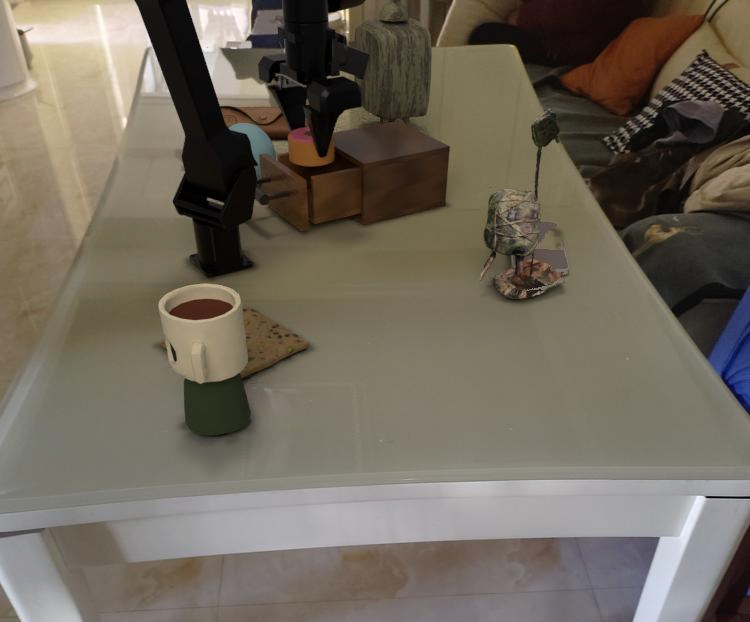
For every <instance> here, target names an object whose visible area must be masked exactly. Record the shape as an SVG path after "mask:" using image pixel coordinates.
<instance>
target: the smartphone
mask: <svg viewBox="0 0 750 622" xmlns="http://www.w3.org/2000/svg"><path fill="white" fill-rule="evenodd" d="M557 225H558V226H559V224H558V223H557V222H555V221H551V220H550V221H549V220H540V226H539V229H540V231H539V233H538V240H537V243H538V244H539V242H540V243H541V241H542V239H544V238H545V237H544V236H545V233H546V232H547V233H548V230H550V228H552V229H553V228H555V227H556V226H557ZM555 229H556V228H555ZM550 231H551V230H550ZM547 233H546V234H547ZM543 237H544V238H543ZM537 243H536V246H537ZM509 257H510V263H511V267H513V268H515V266H516V263H515V258H514V255H509ZM529 259H532V254H531V255H529V256H525V257H524V259H523V262H524V261H526V260H529ZM533 259H535V260H538V261H539V262H540V263H547V264H548V265H550V268H551V267H552V268H553V269H555V271H558V272H564V273H563V274H562V276H565V275H567V274H568V273H569V271H570V264H569V260H568V256H567V253H566V248H564V250H549V249H535V251H534V258H533Z"/></svg>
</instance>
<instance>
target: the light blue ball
mask: <svg viewBox="0 0 750 622" xmlns="http://www.w3.org/2000/svg"><path fill="white" fill-rule="evenodd" d="M229 129H230V130H233V131H237V132H241V133H245V134H247V136H248V138H249V140H250V143H251V149H252V154H253V156H254V159H255V160H256V162H257V163H258V166H254V167H255V170H256V175H257V179H260V178H261V171H260V159H259V154H263V153H267V154H269V155H270V156H271V157H273V158H274V159H276V160H277V154H276V153H277V152H276V149H275V146H274V143H273V142H272V140H270V138H269V137H268V135H267V134H266V133H265V132H264V131H263V130H262V129H261V128H259V127H258V126H256V125H253V124H249V123H238V124H234V125H232V126H231V127H229ZM259 186H262V184H258V185H256V187H259Z"/></svg>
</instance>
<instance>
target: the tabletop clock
mask: <svg viewBox="0 0 750 622" xmlns="http://www.w3.org/2000/svg"><path fill="white" fill-rule="evenodd" d="M399 2H401V0H390V2H388V3H385V4H384V5H383V6H382V7H381V9H380V11H379V14H378V18H376V19H366V20H364V21H363V22H362V23H361V24H360V25H357V27H356V28H355V30H354V31H355V32H354V39H353V41H354V42H353V48H356V49H358V50H361V51H363V52H366V53H368V54H370V58H369V61H368V65H367V69H366V72H365V76H364V80H361V79H358V78H357V77H356V76H355V75H353V76H354V77H353V79H354V80H353V81H354V82H357V84H358V85H359V86H360V87H361V88H362V89H363V106H362V107H361V108H363V109H364V110H365V111H366V112H367V113H369V114H371V115H373V116H375V117H377V118H379V123H378V125H379V124H384V121H387V123H390V122H395V121H397V120H399V119H400V120H401V121H402V122H403V123H404V124H406V125H408V126H410V127H412V128H413V126H412V123H411V119H410V118H418V117H424V116H427V113H428V110H429V104H430V103H429V102H430V95H431V82H432V64H433V63H432V62H433V59H432V58H433V54H432V53H433V51H432V49H433V48H432V47H433V46H432V36H431V33H430V30H429V29H428V28H427V27H426V25H424V24H423V23H422V22H420V21H419V20H417V19H414V18H411V17H409V13H408V10H407V8H406V7H405V6H404V5H403V4H402V3H399Z"/></svg>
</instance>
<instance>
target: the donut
mask: <svg viewBox="0 0 750 622" xmlns="http://www.w3.org/2000/svg"><path fill="white" fill-rule="evenodd" d="M287 144H288V145H287V146H288V148H287V149H288V152H289V160H290V161H291V162H292V163H294V164H297V165H301V166H322V165H326V164H329V163H331V162H333V161H334V159H335V152H334V135H332V138H331V142H330V145H329V149H328V153H327V156H326V157H319V156H318V154H317V151H316V148H315V145H314V142H313V139H312V135H311V132H310V129H309V127H304V128H298V129H295V130H293V131H291V132H290V134H289V135H288V139H287Z"/></svg>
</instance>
